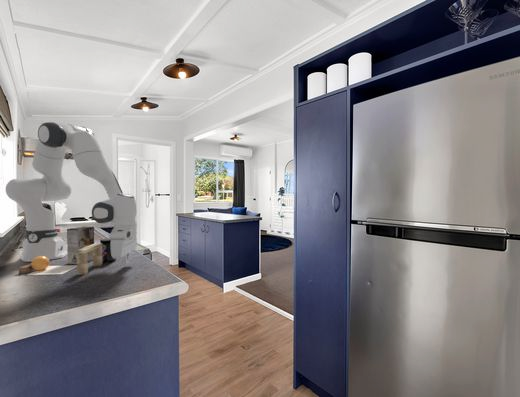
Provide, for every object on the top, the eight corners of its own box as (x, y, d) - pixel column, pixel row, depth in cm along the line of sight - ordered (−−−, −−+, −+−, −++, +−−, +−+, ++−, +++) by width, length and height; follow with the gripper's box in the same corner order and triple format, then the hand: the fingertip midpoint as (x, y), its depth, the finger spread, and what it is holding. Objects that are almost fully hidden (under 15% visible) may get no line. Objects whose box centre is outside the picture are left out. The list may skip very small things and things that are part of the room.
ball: (34, 264, 116) (42, 251, 116) (48, 270, 117) (55, 258, 117) (24, 268, 110) (32, 255, 110) (38, 275, 111) (46, 262, 111)
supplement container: (103, 259, 132) (102, 238, 132) (118, 259, 134) (118, 237, 134) (97, 263, 126) (97, 240, 126) (113, 262, 127) (113, 240, 127)
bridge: (77, 274, 108) (77, 250, 108) (95, 264, 123) (95, 243, 123) (85, 274, 109) (85, 250, 108) (102, 264, 123) (102, 243, 123)
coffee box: (83, 259, 134) (83, 226, 133) (94, 259, 132) (94, 226, 132) (66, 263, 125) (66, 228, 124) (78, 264, 123) (78, 229, 123)
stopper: (37, 266, 119) (37, 260, 119) (42, 266, 119) (42, 260, 119) (18, 274, 108) (18, 267, 108) (24, 274, 109) (24, 267, 108)
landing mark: (47, 266, 120) (47, 265, 120) (79, 265, 121) (79, 265, 121) (26, 275, 107) (26, 274, 107) (62, 274, 108) (62, 273, 108)
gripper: (126, 228, 127) (126, 257, 127) (107, 235, 107) (107, 270, 107) (140, 228, 128) (140, 257, 128) (124, 235, 108) (124, 270, 108)
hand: (125, 263), depth 118 cm, fingers closed
